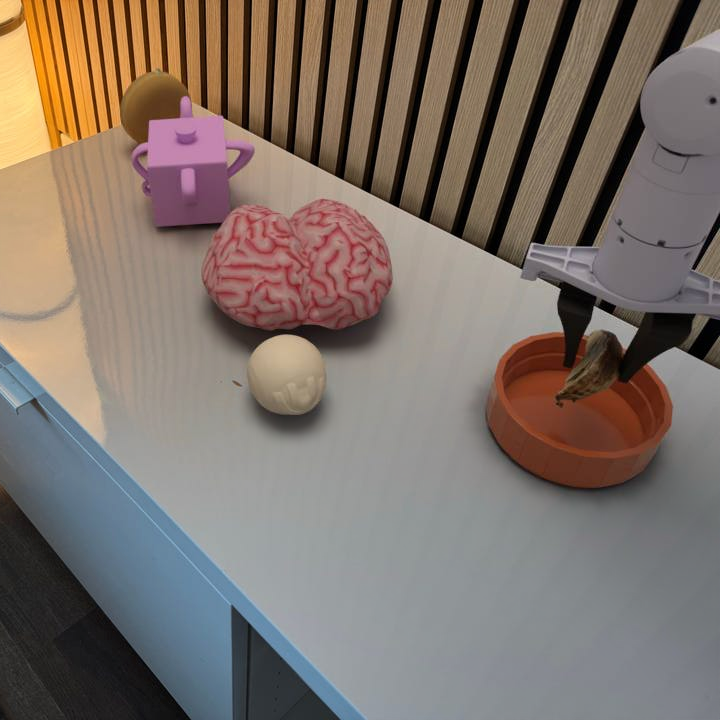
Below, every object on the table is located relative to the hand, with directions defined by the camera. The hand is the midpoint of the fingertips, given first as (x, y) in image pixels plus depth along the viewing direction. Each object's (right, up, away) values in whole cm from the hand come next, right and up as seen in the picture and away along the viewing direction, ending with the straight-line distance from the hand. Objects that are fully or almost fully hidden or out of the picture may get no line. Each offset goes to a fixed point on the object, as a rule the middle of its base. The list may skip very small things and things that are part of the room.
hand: (596, 366), depth 59 cm
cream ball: (-23, -3, +9) cm, 25 cm away
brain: (-22, +7, +20) cm, 30 cm away
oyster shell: (-1, -1, +1) cm, 2 cm away
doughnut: (-38, +29, +41) cm, 63 cm away
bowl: (0, -5, +6) cm, 8 cm away
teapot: (-33, +19, +32) cm, 50 cm away
